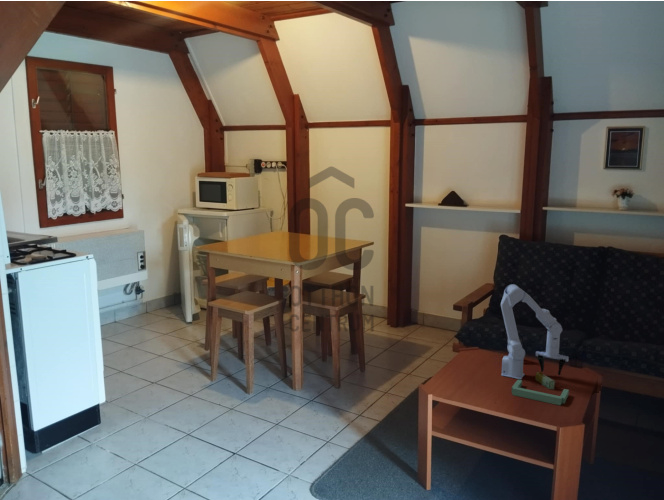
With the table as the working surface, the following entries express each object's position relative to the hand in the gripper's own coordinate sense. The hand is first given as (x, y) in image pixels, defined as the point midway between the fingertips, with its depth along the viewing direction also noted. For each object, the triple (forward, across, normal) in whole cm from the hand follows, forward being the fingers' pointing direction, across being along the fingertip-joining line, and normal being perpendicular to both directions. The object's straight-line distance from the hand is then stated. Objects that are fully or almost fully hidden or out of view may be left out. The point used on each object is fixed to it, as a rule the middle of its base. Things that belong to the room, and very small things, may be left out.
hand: (550, 372), depth 265 cm
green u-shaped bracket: (+2, 0, +26) cm, 26 cm away
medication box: (+2, 0, +11) cm, 12 cm away
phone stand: (+2, +20, -14) cm, 25 cm away
